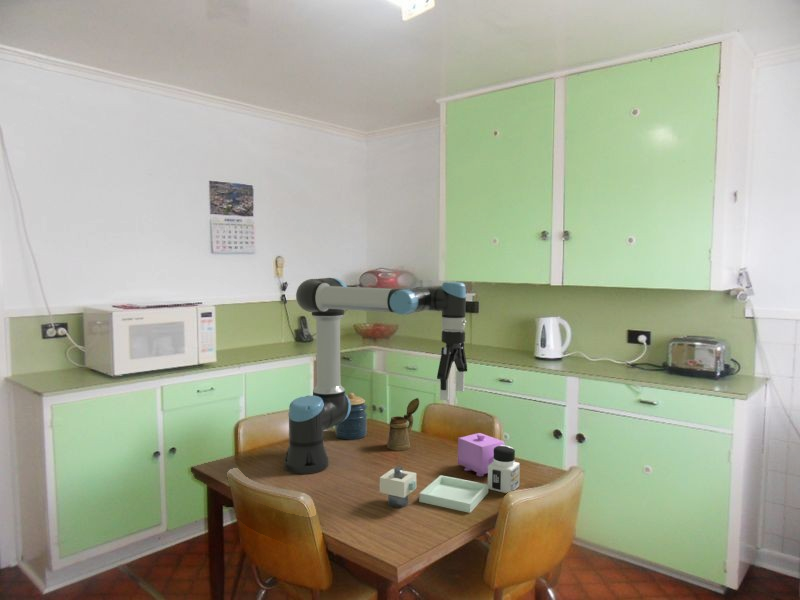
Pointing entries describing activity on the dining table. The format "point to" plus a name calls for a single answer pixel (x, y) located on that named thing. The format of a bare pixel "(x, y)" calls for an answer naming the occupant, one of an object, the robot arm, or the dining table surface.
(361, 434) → the canister
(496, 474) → the container
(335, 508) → the dining table surface
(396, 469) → the dark grey stemmed piece
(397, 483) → the cream square-holed block
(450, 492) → the tray
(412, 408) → the wooden mug
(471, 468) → the teapot
